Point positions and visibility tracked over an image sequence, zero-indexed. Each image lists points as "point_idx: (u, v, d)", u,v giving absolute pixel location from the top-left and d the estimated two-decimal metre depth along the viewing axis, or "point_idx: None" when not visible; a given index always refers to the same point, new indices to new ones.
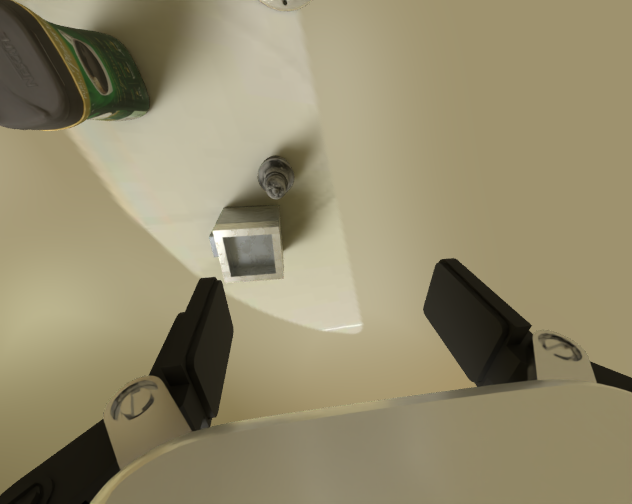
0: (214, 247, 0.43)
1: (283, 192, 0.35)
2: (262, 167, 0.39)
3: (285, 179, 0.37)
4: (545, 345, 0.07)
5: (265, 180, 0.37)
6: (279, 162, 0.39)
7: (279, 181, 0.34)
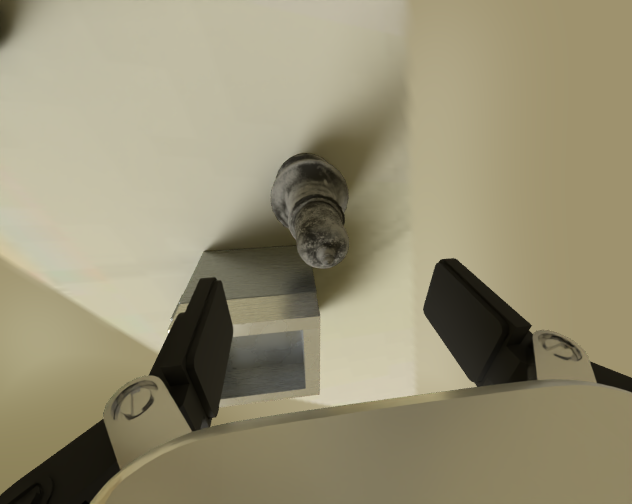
0: None
1: (344, 254, 0.13)
2: (282, 180, 0.18)
3: (340, 212, 0.15)
4: (545, 345, 0.07)
5: (292, 215, 0.15)
6: (320, 169, 0.18)
7: (336, 227, 0.13)
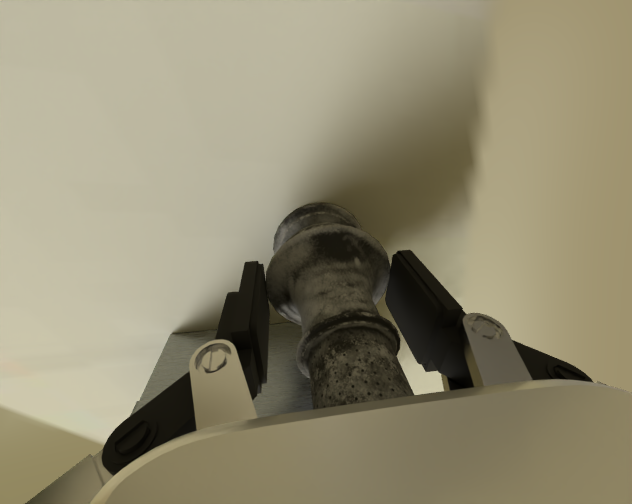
0: None
1: None
2: (284, 258, 0.11)
3: (394, 339, 0.08)
4: (474, 328, 0.08)
5: (305, 350, 0.08)
6: (348, 240, 0.10)
7: None
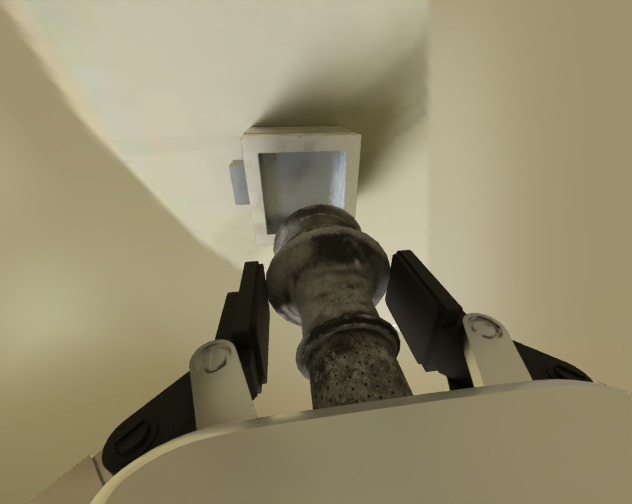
0: (237, 186, 0.26)
1: None
2: (284, 259, 0.11)
3: (394, 341, 0.08)
4: (474, 328, 0.08)
5: (305, 352, 0.08)
6: (348, 242, 0.10)
7: None
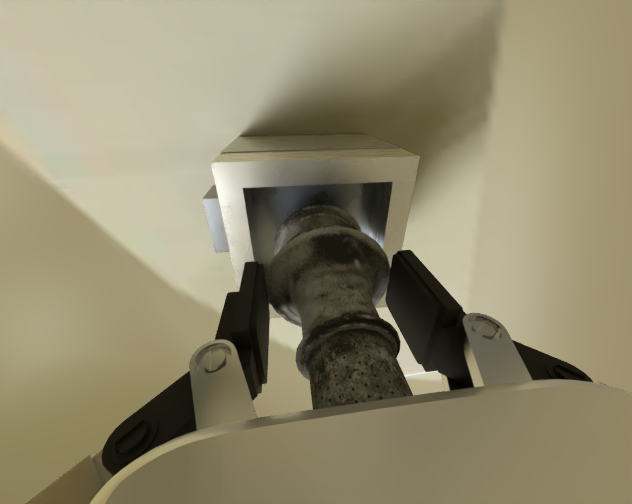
0: (216, 228, 0.17)
1: None
2: (284, 259, 0.11)
3: (394, 341, 0.08)
4: (474, 328, 0.08)
5: (305, 352, 0.08)
6: (348, 242, 0.10)
7: None
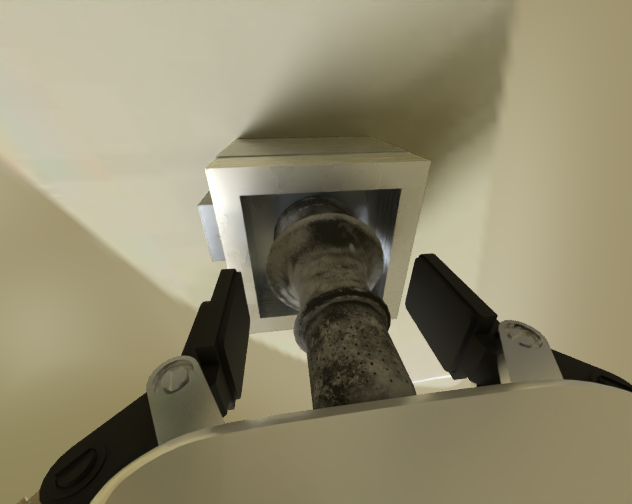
0: (213, 236, 0.16)
1: None
2: (283, 244, 0.11)
3: (385, 314, 0.09)
4: (510, 335, 0.07)
5: (302, 323, 0.08)
6: (343, 227, 0.11)
7: (398, 389, 0.06)
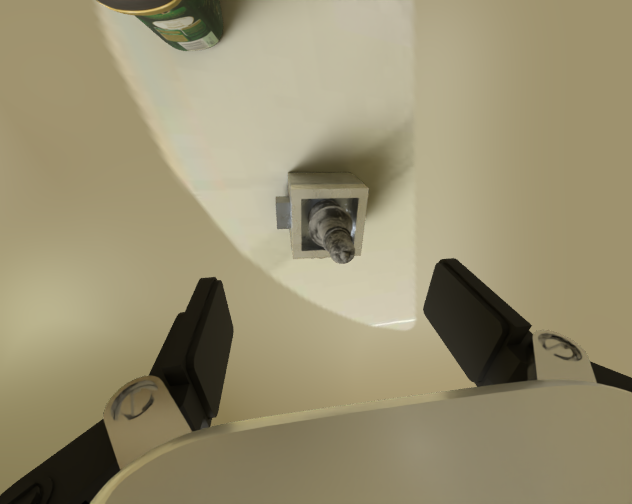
0: (279, 216, 0.36)
1: (353, 256, 0.27)
2: (316, 216, 0.32)
3: (349, 235, 0.29)
4: (545, 345, 0.07)
5: (325, 237, 0.29)
6: (337, 211, 0.32)
7: (349, 243, 0.26)
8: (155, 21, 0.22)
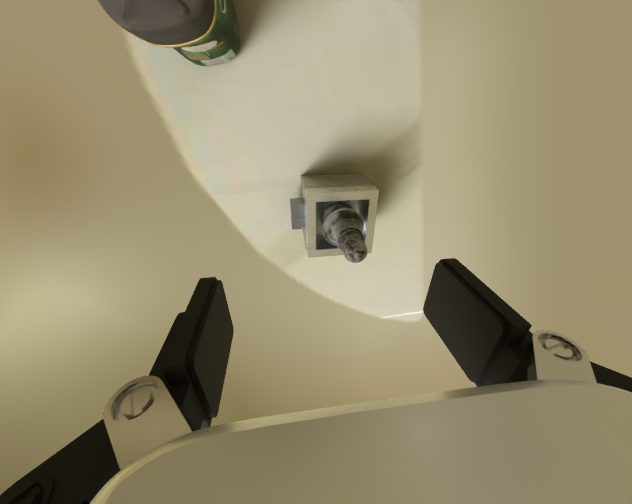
0: (294, 217, 0.39)
1: (365, 255, 0.29)
2: (329, 218, 0.34)
3: (361, 236, 0.32)
4: (545, 345, 0.07)
5: (339, 238, 0.31)
6: (349, 212, 0.34)
7: (362, 244, 0.29)
8: (184, 47, 0.24)
